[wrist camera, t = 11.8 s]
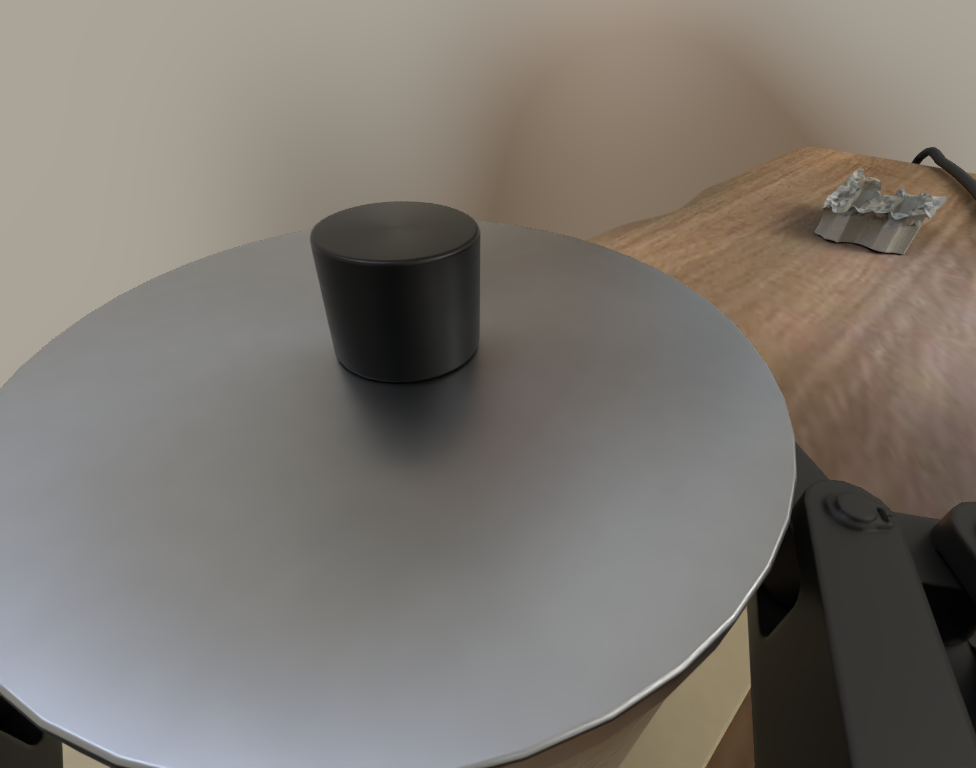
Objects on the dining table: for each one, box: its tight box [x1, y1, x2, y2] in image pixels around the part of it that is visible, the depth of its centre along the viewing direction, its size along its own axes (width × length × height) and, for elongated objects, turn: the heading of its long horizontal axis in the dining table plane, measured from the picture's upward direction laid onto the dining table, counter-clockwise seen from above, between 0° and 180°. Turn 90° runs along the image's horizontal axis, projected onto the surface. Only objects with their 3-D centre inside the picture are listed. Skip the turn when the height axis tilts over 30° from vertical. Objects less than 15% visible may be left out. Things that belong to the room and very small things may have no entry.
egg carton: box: [814, 168, 947, 254], centre depth 41 cm, size 11×8×4 cm
